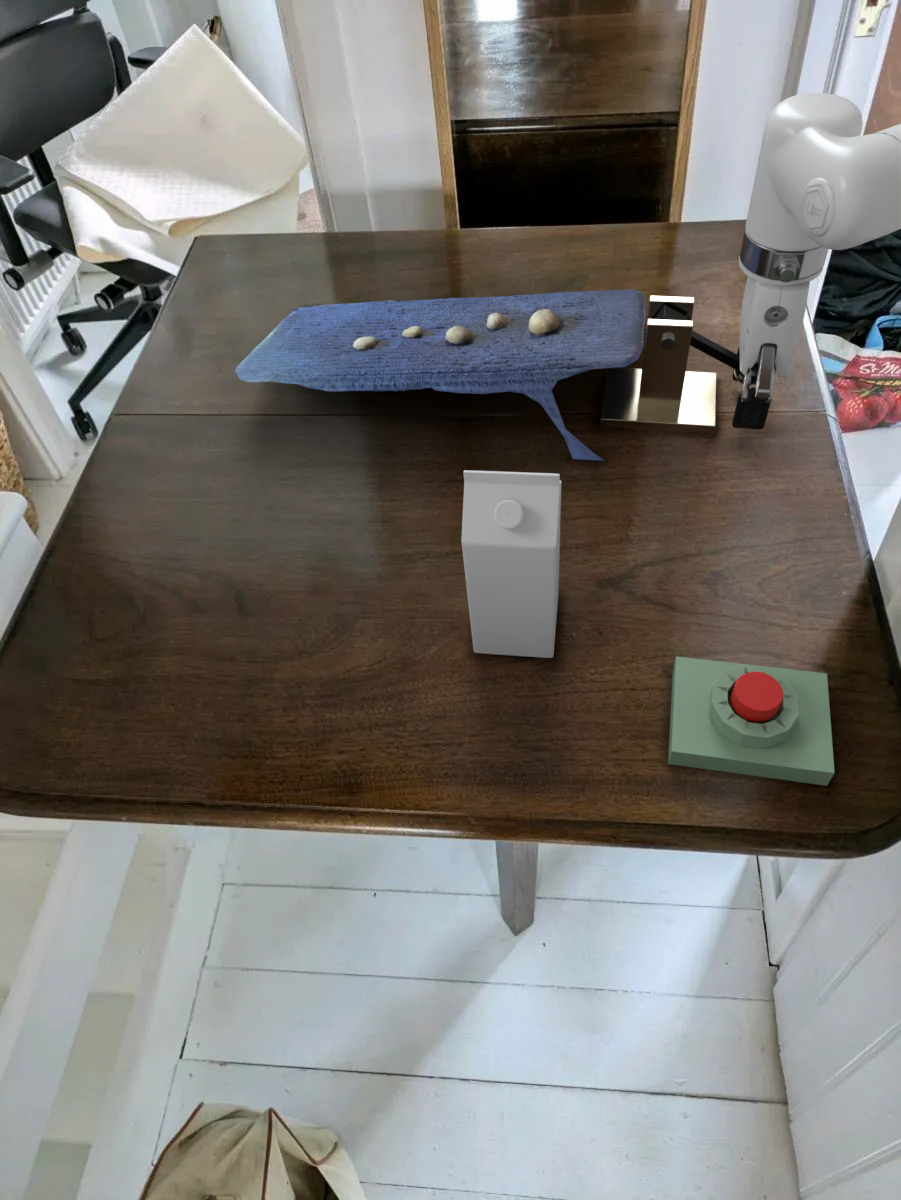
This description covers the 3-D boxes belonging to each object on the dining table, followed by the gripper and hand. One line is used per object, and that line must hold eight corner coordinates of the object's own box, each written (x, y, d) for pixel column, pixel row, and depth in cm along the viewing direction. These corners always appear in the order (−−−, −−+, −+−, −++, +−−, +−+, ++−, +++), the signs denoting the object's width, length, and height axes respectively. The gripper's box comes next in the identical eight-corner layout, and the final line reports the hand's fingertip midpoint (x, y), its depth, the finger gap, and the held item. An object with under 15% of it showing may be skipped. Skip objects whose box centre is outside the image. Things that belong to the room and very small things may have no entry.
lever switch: (752, 377, 91) (772, 355, 89) (752, 396, 89) (773, 375, 87) (649, 322, 88) (667, 298, 86) (647, 340, 86) (665, 317, 84)
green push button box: (820, 687, 71) (833, 661, 68) (827, 786, 66) (841, 762, 63) (672, 670, 73) (678, 643, 70) (668, 764, 68) (674, 740, 65)
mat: (241, 467, 97) (214, 370, 90) (312, 375, 119) (294, 291, 112) (645, 460, 88) (648, 351, 81) (642, 362, 110) (644, 270, 103)
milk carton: (482, 591, 80) (469, 438, 65) (558, 596, 79) (562, 441, 64) (473, 654, 76) (457, 505, 61) (553, 659, 75) (556, 510, 60)
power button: (777, 685, 67) (782, 674, 66) (779, 725, 65) (784, 714, 64) (730, 680, 68) (734, 668, 67) (730, 719, 66) (734, 708, 65)
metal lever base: (714, 381, 96) (733, 287, 87) (713, 434, 91) (733, 340, 81) (607, 375, 98) (614, 282, 89) (600, 427, 93) (606, 334, 83)
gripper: (833, 305, 72) (786, 460, 86) (821, 201, 82) (780, 355, 96) (741, 302, 73) (709, 455, 87) (740, 200, 84) (712, 351, 98)
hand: (747, 401), depth 92 cm, fingers open, 7 cm apart
